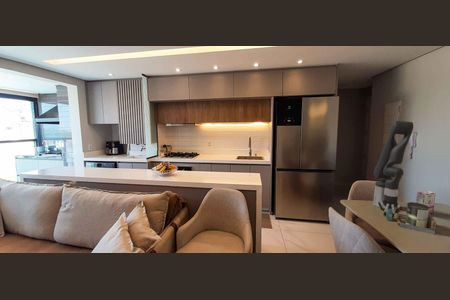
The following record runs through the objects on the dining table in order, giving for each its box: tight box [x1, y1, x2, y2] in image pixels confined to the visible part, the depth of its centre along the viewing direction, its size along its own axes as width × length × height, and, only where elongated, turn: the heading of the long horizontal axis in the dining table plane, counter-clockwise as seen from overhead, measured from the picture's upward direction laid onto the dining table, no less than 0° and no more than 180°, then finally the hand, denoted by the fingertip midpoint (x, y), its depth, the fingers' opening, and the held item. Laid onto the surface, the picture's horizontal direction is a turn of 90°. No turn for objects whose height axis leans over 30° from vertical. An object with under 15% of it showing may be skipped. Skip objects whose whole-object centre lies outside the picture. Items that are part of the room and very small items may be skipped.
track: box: [396, 213, 436, 235], centre depth 129 cm, size 16×18×2 cm
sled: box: [385, 208, 437, 231], centre depth 131 cm, size 23×15×8 cm, turn 54°
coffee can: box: [405, 201, 429, 228], centre depth 128 cm, size 10×10×14 cm
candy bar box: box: [415, 190, 436, 215], centre depth 144 cm, size 11×5×16 cm, turn 101°
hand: (388, 216), depth 137 cm, fingers closed on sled, 3 cm apart
